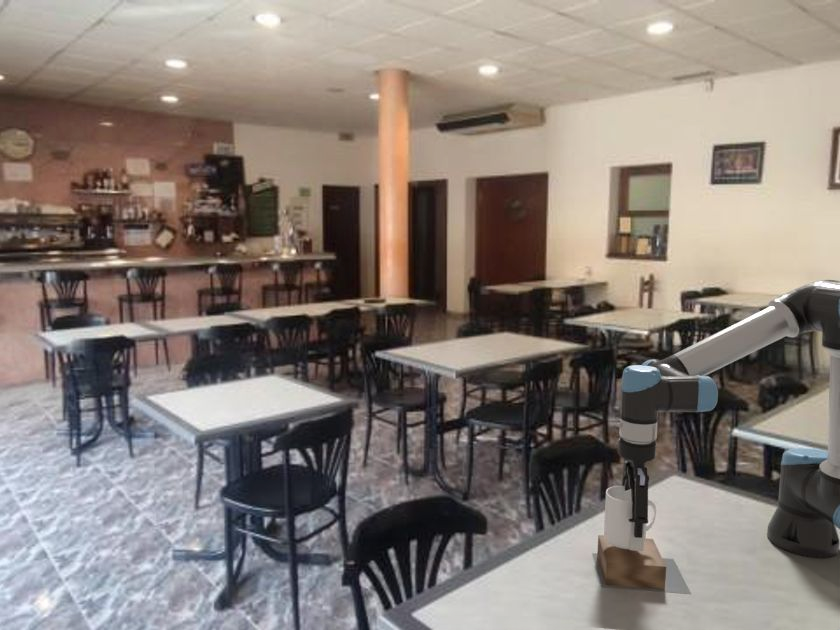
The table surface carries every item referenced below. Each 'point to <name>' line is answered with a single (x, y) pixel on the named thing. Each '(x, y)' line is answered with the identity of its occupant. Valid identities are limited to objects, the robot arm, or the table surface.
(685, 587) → the slate tile
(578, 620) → the table surface
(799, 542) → the robot arm
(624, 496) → the mug
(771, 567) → the table surface
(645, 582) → the walnut block
